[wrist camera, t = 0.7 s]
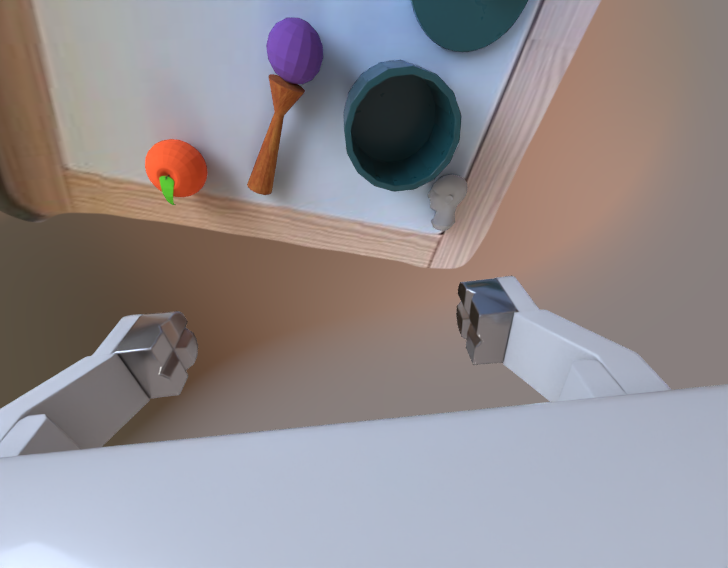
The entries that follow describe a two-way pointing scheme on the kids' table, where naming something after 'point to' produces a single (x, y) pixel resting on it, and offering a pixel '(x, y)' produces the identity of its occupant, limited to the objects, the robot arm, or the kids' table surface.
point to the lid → (466, 21)
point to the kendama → (285, 88)
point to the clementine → (176, 168)
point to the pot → (400, 125)
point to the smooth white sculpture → (446, 200)
